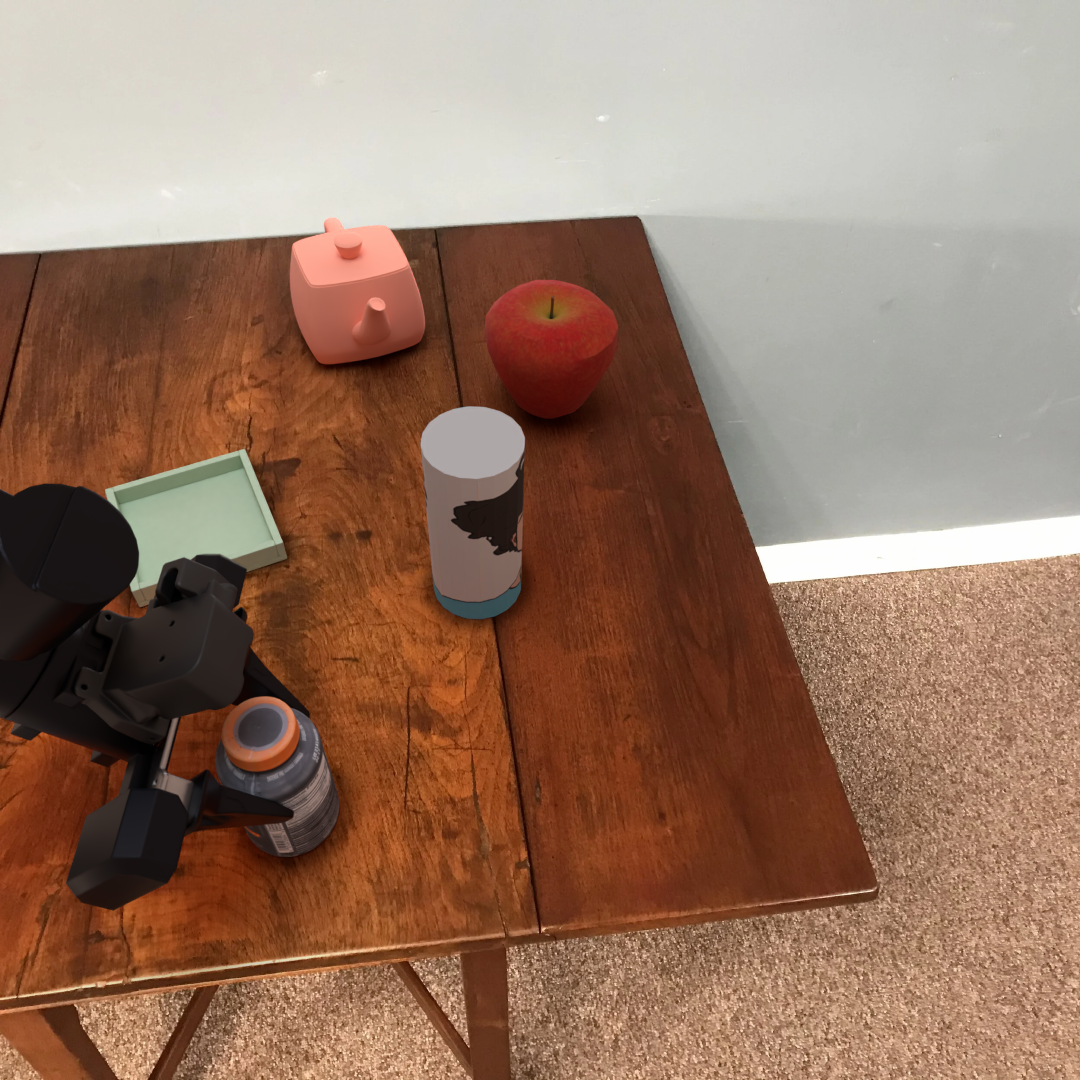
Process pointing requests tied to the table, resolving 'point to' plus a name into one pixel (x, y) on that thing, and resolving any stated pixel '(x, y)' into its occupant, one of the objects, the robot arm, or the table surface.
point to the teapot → (354, 293)
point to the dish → (198, 518)
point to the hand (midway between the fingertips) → (298, 766)
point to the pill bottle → (279, 773)
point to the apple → (550, 345)
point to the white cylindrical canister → (474, 509)
